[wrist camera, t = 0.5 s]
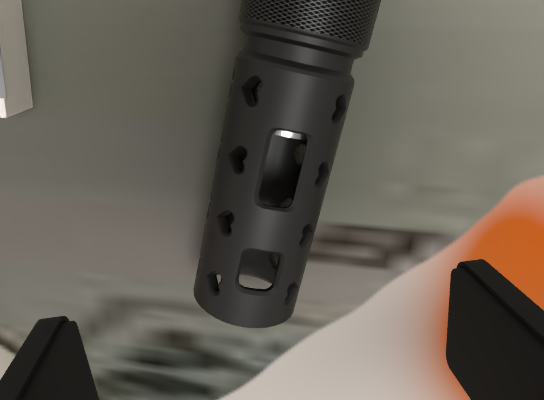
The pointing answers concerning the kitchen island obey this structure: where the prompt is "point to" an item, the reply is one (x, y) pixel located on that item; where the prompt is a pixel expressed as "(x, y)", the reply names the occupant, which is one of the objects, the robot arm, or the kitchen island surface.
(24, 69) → the panel
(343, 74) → the muzzle brake
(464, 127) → the kitchen island surface
